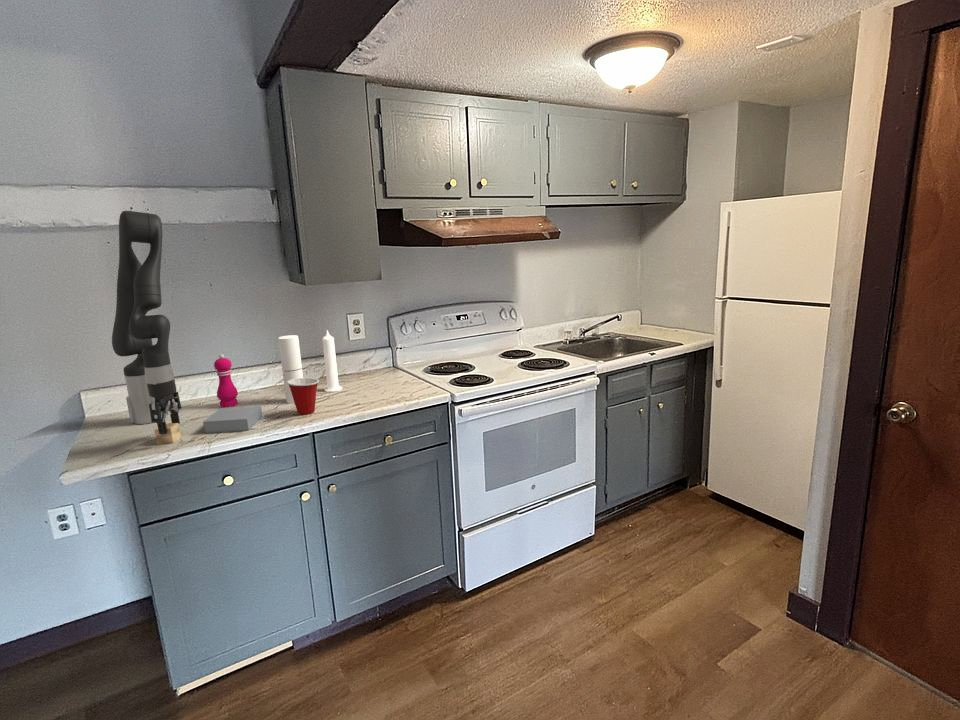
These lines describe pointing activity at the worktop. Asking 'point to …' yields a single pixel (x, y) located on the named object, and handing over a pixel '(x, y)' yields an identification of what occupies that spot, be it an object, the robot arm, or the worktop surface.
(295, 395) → the plastic cup
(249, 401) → the worktop surface
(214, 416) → the slate plinth
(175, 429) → the oak cube
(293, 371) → the cylindrical container
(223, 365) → the pepper mill
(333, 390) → the candle
